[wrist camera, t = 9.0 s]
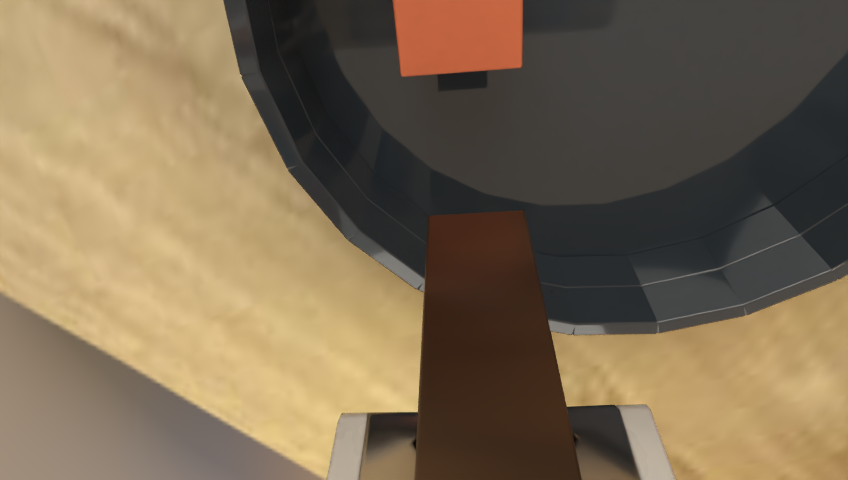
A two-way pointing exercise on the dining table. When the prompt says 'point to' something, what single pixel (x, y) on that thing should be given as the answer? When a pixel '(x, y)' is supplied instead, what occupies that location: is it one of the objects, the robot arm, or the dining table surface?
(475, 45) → the block
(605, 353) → the dining table surface
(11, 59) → the dining table surface
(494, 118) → the bowl
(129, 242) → the dining table surface
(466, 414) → the stick
